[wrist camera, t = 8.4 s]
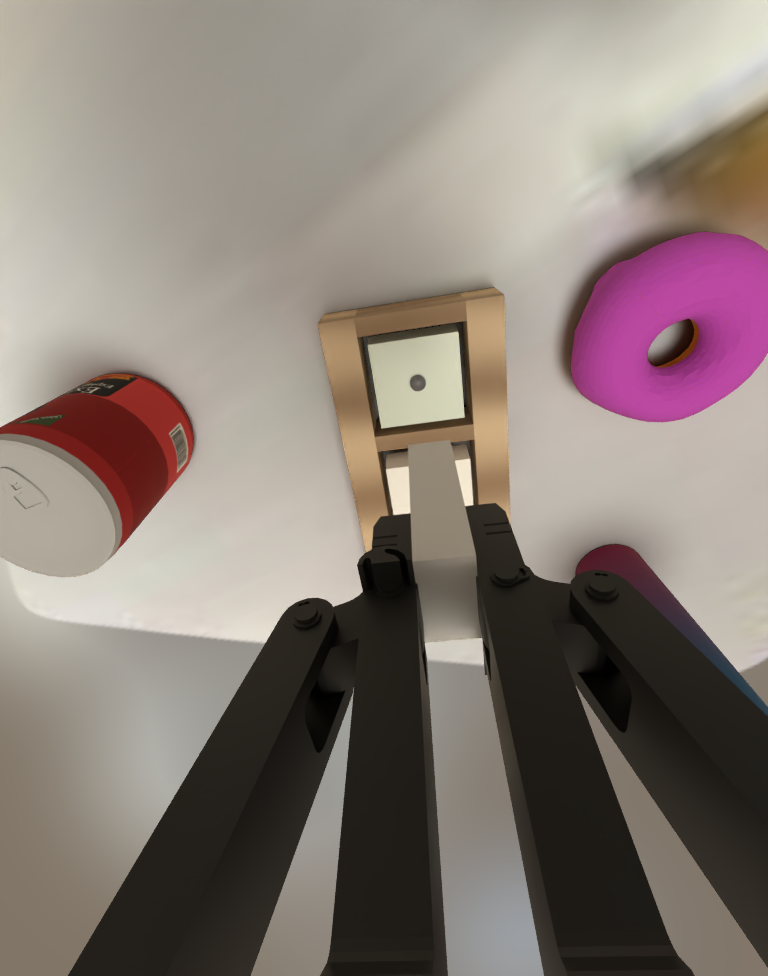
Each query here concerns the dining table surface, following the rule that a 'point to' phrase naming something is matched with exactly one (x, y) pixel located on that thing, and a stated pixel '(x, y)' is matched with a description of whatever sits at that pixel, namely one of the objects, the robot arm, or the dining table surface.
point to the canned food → (87, 472)
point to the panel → (480, 424)
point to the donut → (662, 302)
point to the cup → (663, 605)
